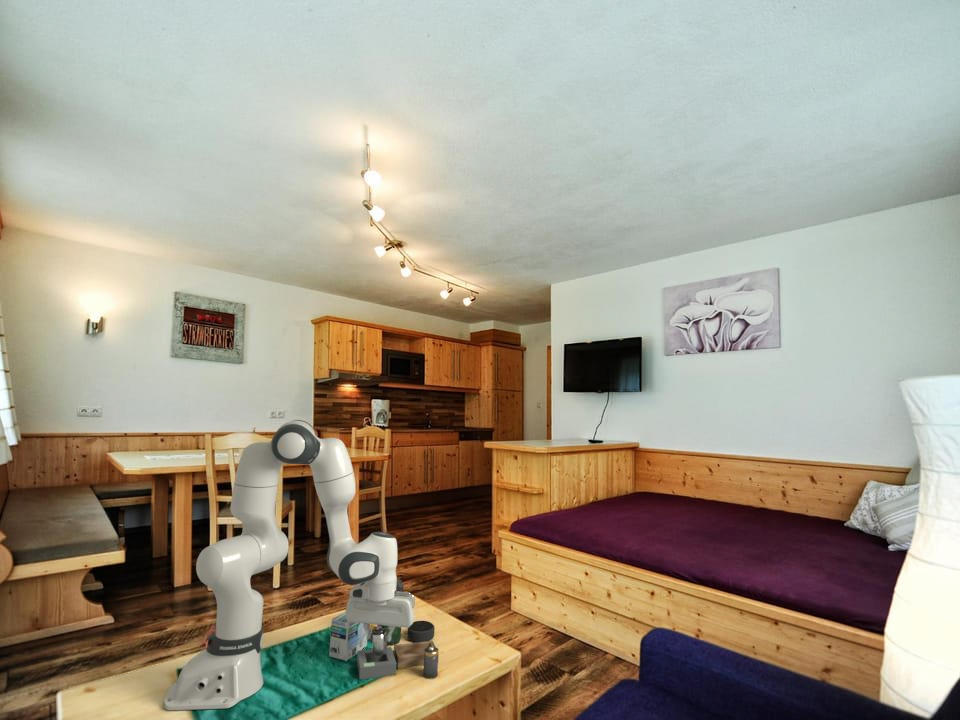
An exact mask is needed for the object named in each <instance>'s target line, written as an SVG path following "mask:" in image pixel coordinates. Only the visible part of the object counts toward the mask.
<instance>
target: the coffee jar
mask: <svg viewBox="0 0 960 720" xmlns="http://www.w3.org/2000/svg"><path fill="white" fill-rule="evenodd" d="M396 591H401V592H405V591H404V583H403V580H401V579H399V578H398V577H397V583H396ZM377 626H385V625H376V627H377ZM385 627H386V633H389V632H390V630H391V629H390V630H389V626H385ZM401 638H402V627H395V629H394V631H393V632H392V638H391V641H390V642H387V641H386V642H387V646H394V645H396V644H398V643H400V642H401Z"/></svg>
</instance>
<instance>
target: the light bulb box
mask: <svg viewBox="0 0 960 720" xmlns="http://www.w3.org/2000/svg"><path fill="white" fill-rule="evenodd" d="M345 612H346V610H345V611H344V612H342V613H339V614H338V615H337V616H335V617H333V618H331V624H330V625H331V626H330V639H329V640H330V642H329V653H328V654H329V657H331V658H334V659H339V660H342V661H345V662H347V661H349V660H350V659H351V658H353V657H354V656H356V655H357V651H361V650H362V649H363V648H364V647H366V646H368V639H366V632H365V630H364V628H363V623H355V622H348V621H347V620H346V618H345ZM366 648H367V647H366ZM364 649H365V648H364ZM364 649H363V650H364ZM355 654H356V655H355Z"/></svg>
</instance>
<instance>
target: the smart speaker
mask: <svg viewBox="0 0 960 720" xmlns="http://www.w3.org/2000/svg"><path fill="white" fill-rule="evenodd" d="M435 631H436V628H435V625H434V624H433V622H431V621H429V620H428V621H427V620H414V622H413V624H412V625H411V626H410V627H409V628H407V631H406V632H407V633H406V634H407V639H408V640H409V641H410V642H411V643H418V642H427V641H433V639H434V637H435Z"/></svg>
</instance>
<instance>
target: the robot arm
mask: <svg viewBox="0 0 960 720" xmlns="http://www.w3.org/2000/svg"><path fill="white" fill-rule="evenodd" d="M348 452H349V451H348V450H347V447H346V445H345V443H344V442H343V441H342V440H341V439H340V438H336V437H326V438H325V437H324V438H320V437H318V436H317V435H316V432H315V428H314V427H313V426H312V425H311V424H310V423H309V422H307V421H304V420H300V419H294V420H290V421H287V422H285V423H283V424H282V425H281V426H280V427H278V429H277V430H276V431H275V433H274V434H273V436H272V438H271V439H270V441H266V442H263V441H262V442H261V441H259V442H254V443H250V444H248V445H247V446H246V447H245V448H244V449H243V451H242V453H241V455H240V459H239V461H238V464H237V468H236V472H235V476H234V481H233V487H232V494H231V500H230V507H229V510H230V513H231V515H232V517H234V519H236V520H238V521H240V522H241V526H242V532H241V534H240V535H237V536H236V535H235V536H233V537H229V538H224V539H221V540H218V541H217V542H214V543H212V544H210V545H209V546H206V547H204V549H203V550H201V552H200V553H199V555H198V557H197V559H196V563H195V566H196V567H195V570H196V574H197V577H198V579H199V581H200V582H201V583H202V584H204V585H205V586H207V587H208V588H210V589H211V590H212V592H213V594H214V597H215V600H216V623H215V628H209V630H208V631H207V633H206V639H205V647H204V649H203V650H201V651H200V652H199V653H197V654H196V655H195V656H193V657H192V658H191V659H189V660H188V661H187V662H186V664H185V665H184V666H183V668H182V669H181V671H180V673H179V675H178V678H177V680H176V681H175V682H173V684H171V686H170V687H169V688H168V690H167V691H166V693H165V696H164V700H163V707H164V709H165V710H166V711H187V710H188V711H189V710H213V709H215V710H216V709H229V708H231V707H233V706H235V705H236V704H238V703H239V702H241V701H243V700H245V699H246V698H249V697H251V696H253V695H254V694H255V693H257V692H258V691H260V689H261V688H262V687H263V686H264V678H263V672H262V667H261V664H262V663H261V650H262V649H263V648H262V647H263V640H264V639H263V638H264V628H263V626H262V624H263V613H264V612H263V611H264V602H265V601H264V597H263V595H262V594H261V593H260V592H259V591H257V590H255V589H253V588H252V585H251V577H252V576H254V575H256V574H259V573H262V572H266V571H268V570H270V569H272V568H273V567H276V565H279V564H280V563H281V562H283V561H284V560H285V559H286V558H287V556H288V553H289V549H290V548H289V547H290V546H289V544H290V543H289V540H288V537H287V536H286V534H285V533H284V531H282V530H281V529H280V528H279V525H278V524H277V519H276V505H277V504H276V502H277V495H278V494H277V493H278V485H279V479H280V474H281V473H280V472H281V468H282V467H283V465H284V464H287V465H304V466H305V465H308V466H310V469H311V473H312V478H313V483H314V484H313V485H314V487H315V490H316V491H315V492H316V495H317V497H318V500H319V503H320V504H321V508H322V509H323V513H324V517H325V520H326V528H327V533H328V538H329V539H328V540H329V544H328V550H327V554H326V563H327V566H328V568H329V570H331V572H333V573H334V574H335V575H336V577H338V578H339V579H340V581H342V582H343V583H344V584H346V585H349V586H353V587H352V588H350V590H349V594H348V595H349V598H348V599H347V601H346V606H345V611H346V612H345V611H344V612H345V618H346V620H347V621H348V622H355V623H363V628H364V630H365V632H366V639H367V640H369V641H370V640H372V629H371V627H370V625H376V626H377V625H385V626H389V630H390V629H391V630H390V632H389V633H386V634H385V641H387V642H390V641H391V638H392V632H393V631H394V629H395V627H401V628H406V629H408V628H409V627H410V626H411V625H412V624H413V622H415V608H414V607H415V603H416V602H415V600H416V599H415V596H414V595H413V594H412V593H411V592H409V591H404V592H401V591H396V583H397V578H398V577H397V573H396V571H397V566H398V557H399V556H398V555H399V554H398V541H397V538H396V537H395V536H394V535H393V534H390V533H388V532H382V531H376V532H375V531H374V532H372V533H371V534H370V535H369V536H368V537H366V538H365V539H363V541H360V542H359V543H357V542H356V541H355V540H354V538H353V537H352V532H351V527H350V522H349V521H350V520H349V516H348V507H349V504H350V503H351V502H352V501H353V499H354V497H355V496H356V491H357V489H356V478H355V472H354V469H353V468H354V467H353V464H352V460H351V457H350V455H349V453H348Z"/></svg>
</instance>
